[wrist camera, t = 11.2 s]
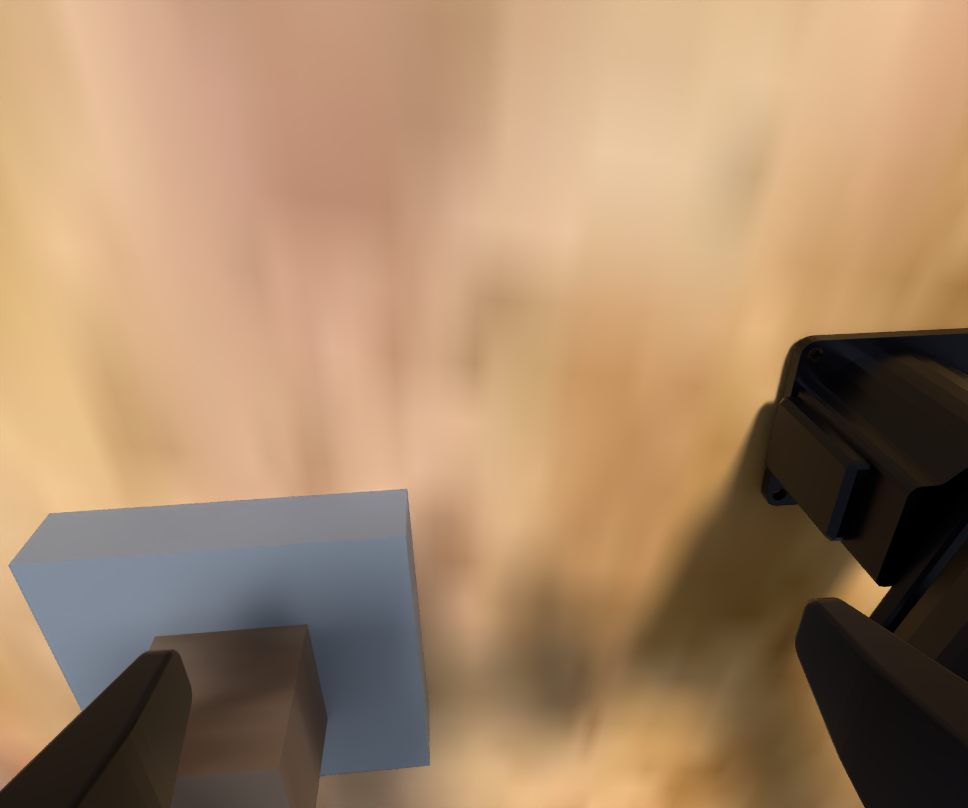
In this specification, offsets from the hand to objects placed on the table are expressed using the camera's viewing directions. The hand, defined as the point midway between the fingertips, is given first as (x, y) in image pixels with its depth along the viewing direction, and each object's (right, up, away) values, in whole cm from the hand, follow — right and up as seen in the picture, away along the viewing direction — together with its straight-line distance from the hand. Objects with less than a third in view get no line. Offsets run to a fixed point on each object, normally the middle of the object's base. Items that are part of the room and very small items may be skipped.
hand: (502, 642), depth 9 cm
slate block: (-9, -5, +16) cm, 19 cm away
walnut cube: (-9, -6, +14) cm, 17 cm away
